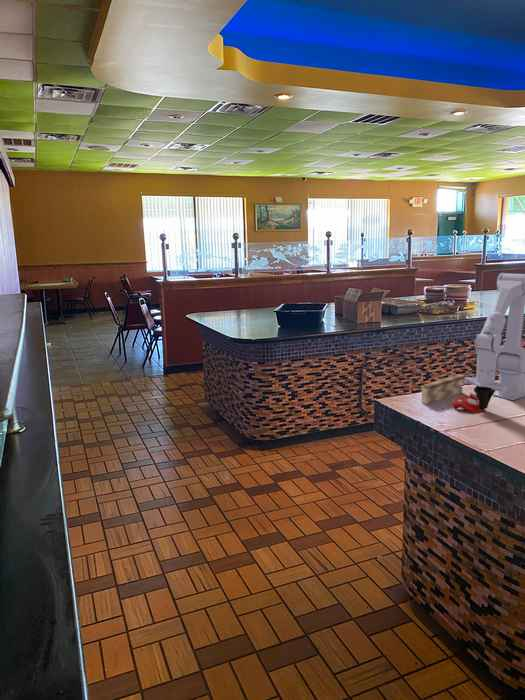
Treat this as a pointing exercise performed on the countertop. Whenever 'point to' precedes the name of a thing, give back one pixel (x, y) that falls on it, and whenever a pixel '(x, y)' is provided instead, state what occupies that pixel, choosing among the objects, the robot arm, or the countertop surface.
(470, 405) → the tracker holder
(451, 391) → the wall board
